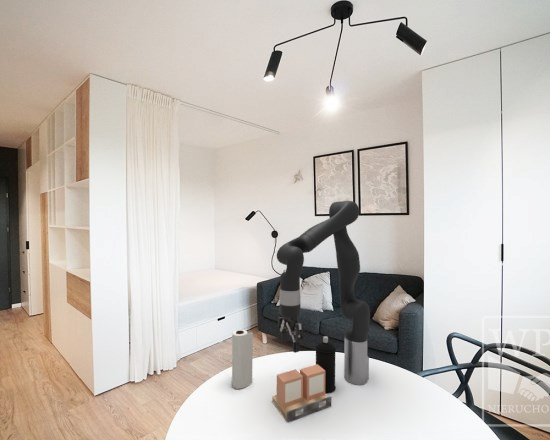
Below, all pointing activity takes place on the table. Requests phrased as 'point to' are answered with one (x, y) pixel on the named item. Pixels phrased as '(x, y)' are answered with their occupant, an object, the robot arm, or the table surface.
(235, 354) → the paper towel roll
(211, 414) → the table surface
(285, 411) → the tan flat block
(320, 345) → the aerosol can
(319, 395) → the carton faced
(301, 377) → the carton
